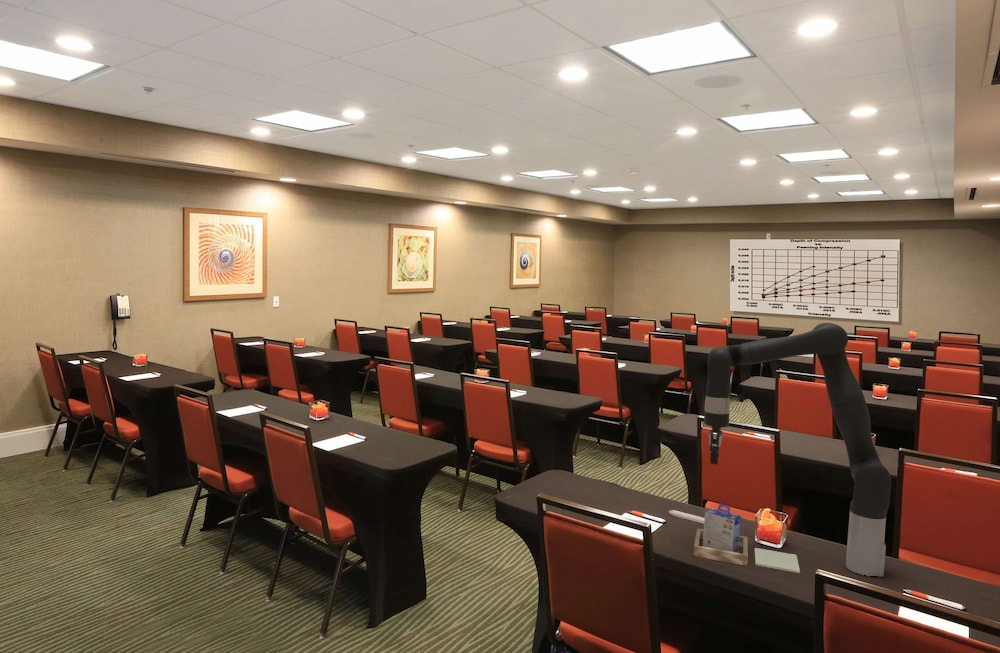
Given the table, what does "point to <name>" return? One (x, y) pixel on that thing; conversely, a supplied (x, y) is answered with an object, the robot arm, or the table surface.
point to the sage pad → (776, 560)
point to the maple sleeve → (721, 551)
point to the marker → (687, 516)
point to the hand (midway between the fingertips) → (714, 460)
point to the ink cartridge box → (721, 529)
